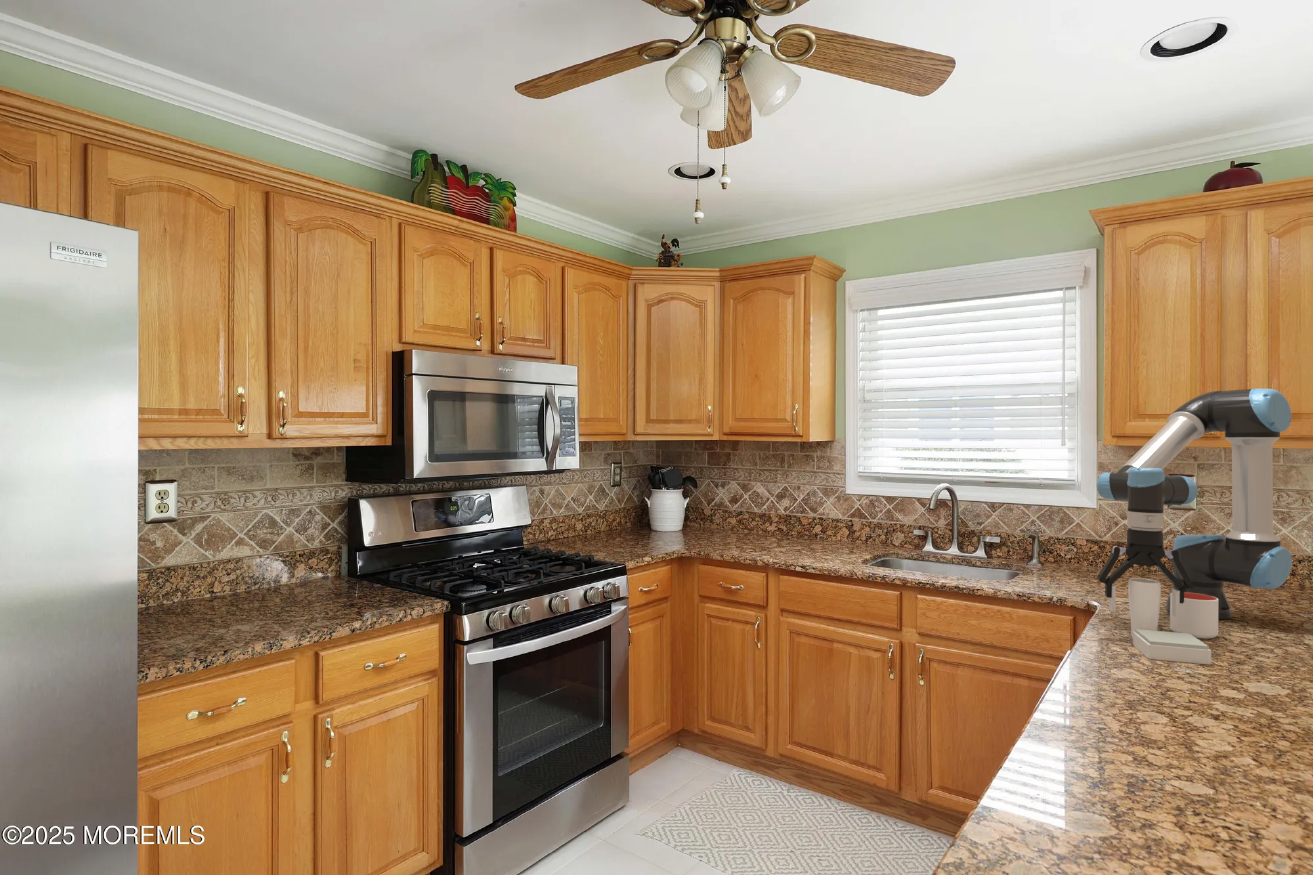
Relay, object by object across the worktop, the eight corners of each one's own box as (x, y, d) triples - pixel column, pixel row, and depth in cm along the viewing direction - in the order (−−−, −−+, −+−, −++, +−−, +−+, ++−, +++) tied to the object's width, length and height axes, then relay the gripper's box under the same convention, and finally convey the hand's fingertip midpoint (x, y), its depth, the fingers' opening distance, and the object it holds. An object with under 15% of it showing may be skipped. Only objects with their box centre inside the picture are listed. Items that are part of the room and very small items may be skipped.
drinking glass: (1150, 645, 175) (1151, 584, 175) (1122, 638, 181) (1122, 579, 181) (1166, 641, 178) (1166, 581, 178) (1137, 635, 184) (1138, 577, 184)
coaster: (1190, 650, 171) (1191, 633, 171) (1211, 664, 160) (1211, 646, 160) (1132, 644, 175) (1132, 628, 175) (1148, 658, 164) (1148, 641, 164)
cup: (1226, 641, 179) (1227, 601, 179) (1182, 638, 181) (1182, 599, 181) (1204, 630, 189) (1205, 593, 189) (1162, 628, 191) (1162, 591, 191)
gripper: (1091, 527, 180) (1090, 611, 180) (1210, 533, 172) (1208, 621, 172) (1084, 524, 187) (1083, 605, 187) (1198, 530, 179) (1196, 615, 179)
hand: (1143, 613), depth 179 cm, fingers open, 13 cm apart
